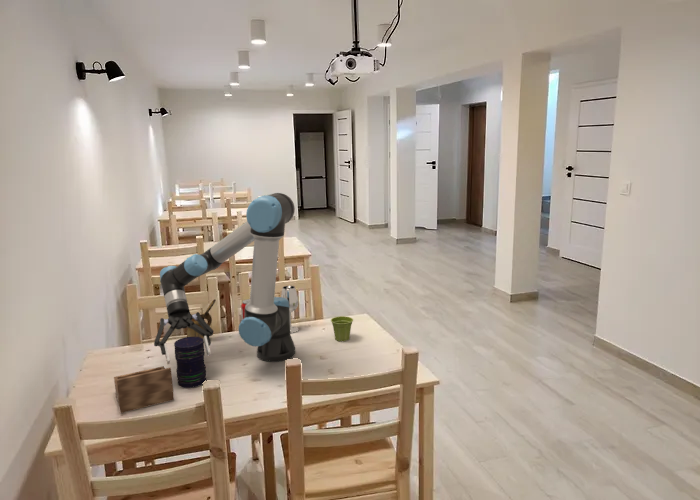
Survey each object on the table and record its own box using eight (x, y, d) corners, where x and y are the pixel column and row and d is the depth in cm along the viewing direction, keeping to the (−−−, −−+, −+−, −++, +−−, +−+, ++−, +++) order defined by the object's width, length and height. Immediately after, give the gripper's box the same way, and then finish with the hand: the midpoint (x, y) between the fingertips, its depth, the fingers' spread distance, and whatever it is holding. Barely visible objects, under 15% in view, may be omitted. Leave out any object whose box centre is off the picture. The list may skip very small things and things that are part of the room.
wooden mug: (218, 343, 209) (215, 302, 205) (184, 346, 206) (181, 304, 203) (219, 335, 217) (216, 296, 214) (187, 338, 215) (183, 298, 211)
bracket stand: (165, 380, 176) (162, 351, 174) (174, 399, 162) (171, 368, 160) (115, 392, 168) (112, 361, 166) (120, 413, 154) (116, 380, 152)
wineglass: (279, 333, 219) (277, 289, 215) (284, 326, 227) (282, 284, 223) (296, 333, 218) (294, 290, 214) (301, 327, 225) (299, 285, 221)
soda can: (239, 333, 219) (237, 301, 216) (253, 328, 225) (251, 297, 222) (249, 338, 214) (247, 304, 211) (264, 333, 220) (262, 300, 216)
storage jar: (178, 390, 168) (174, 349, 165) (176, 378, 177) (172, 339, 174) (208, 384, 172) (205, 344, 169) (204, 373, 181) (201, 334, 178)
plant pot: (333, 334, 216) (332, 315, 215) (354, 335, 215) (354, 316, 213) (329, 342, 207) (329, 323, 206) (351, 343, 206) (351, 324, 204)
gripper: (209, 304, 191) (223, 354, 181) (140, 315, 179) (150, 370, 169) (212, 294, 185) (226, 346, 175) (140, 305, 173) (151, 361, 163)
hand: (189, 358), depth 172 cm, fingers open, 13 cm apart
